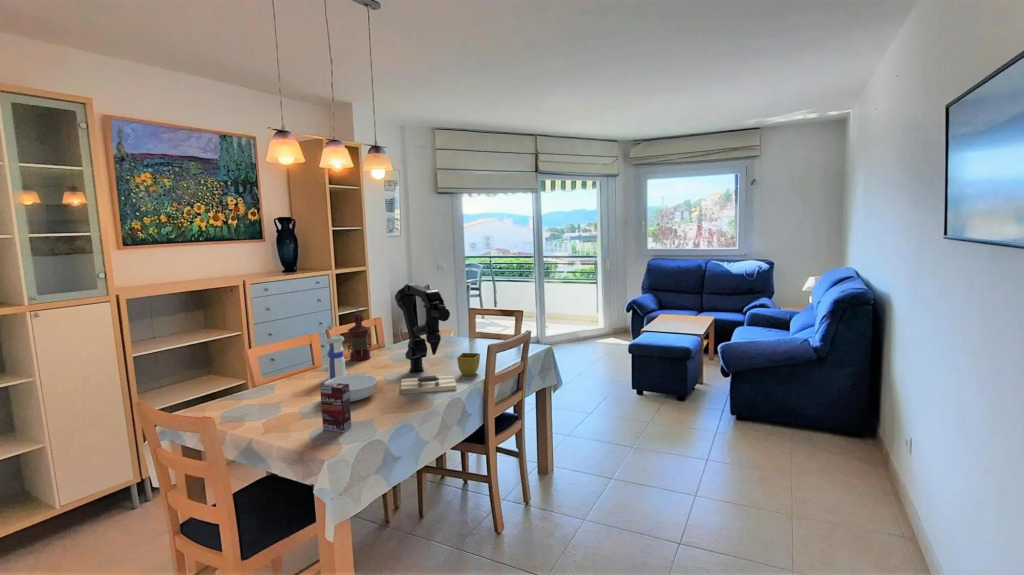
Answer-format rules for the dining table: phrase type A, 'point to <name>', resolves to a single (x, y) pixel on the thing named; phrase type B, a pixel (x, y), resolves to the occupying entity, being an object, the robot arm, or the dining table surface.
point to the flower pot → (468, 363)
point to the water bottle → (335, 356)
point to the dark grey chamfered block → (428, 378)
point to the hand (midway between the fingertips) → (433, 352)
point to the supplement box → (335, 407)
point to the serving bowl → (357, 385)
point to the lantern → (359, 339)
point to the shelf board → (428, 385)
